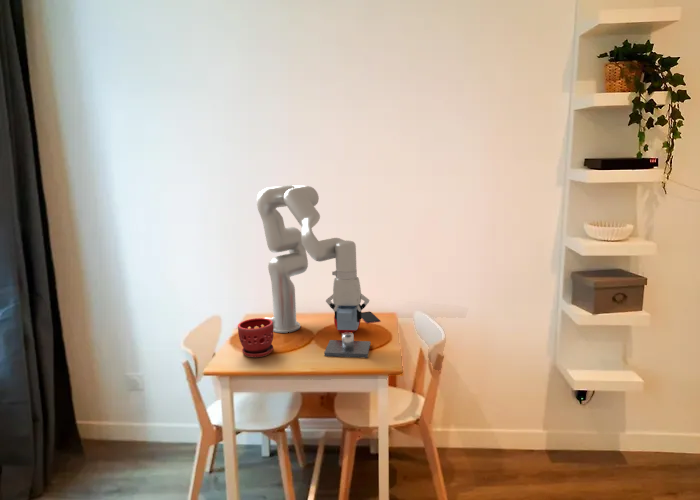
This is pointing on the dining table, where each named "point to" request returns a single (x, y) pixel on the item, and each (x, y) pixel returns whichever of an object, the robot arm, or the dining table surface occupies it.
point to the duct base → (352, 352)
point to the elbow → (347, 318)
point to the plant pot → (256, 337)
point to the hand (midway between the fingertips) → (348, 320)
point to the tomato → (344, 330)
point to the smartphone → (369, 317)
